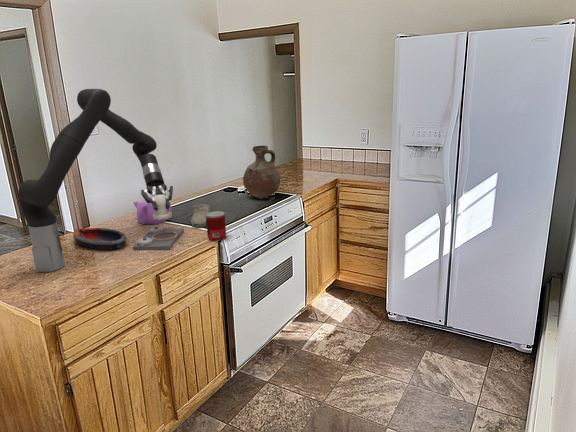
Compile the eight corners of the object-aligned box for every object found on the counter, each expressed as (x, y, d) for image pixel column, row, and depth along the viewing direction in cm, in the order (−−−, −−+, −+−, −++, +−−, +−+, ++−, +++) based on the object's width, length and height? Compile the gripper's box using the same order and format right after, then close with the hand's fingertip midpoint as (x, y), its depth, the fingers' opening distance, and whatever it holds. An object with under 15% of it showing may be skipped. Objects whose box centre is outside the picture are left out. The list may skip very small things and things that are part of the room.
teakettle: (140, 227, 208) (137, 202, 204) (134, 218, 222) (131, 195, 219) (176, 222, 215) (173, 197, 211) (168, 213, 230) (165, 191, 226)
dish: (105, 256, 173) (103, 244, 172) (64, 242, 191) (62, 231, 189) (137, 244, 186) (136, 233, 184) (96, 232, 203) (94, 222, 201)
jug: (237, 197, 259) (233, 146, 250) (265, 191, 272) (263, 143, 263) (259, 204, 243) (256, 150, 234) (288, 197, 256) (286, 145, 248)
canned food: (229, 237, 190) (228, 213, 187) (215, 242, 185) (213, 217, 182) (218, 233, 195) (217, 210, 192) (204, 238, 190) (202, 214, 187)
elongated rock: (187, 232, 204) (209, 232, 205) (187, 221, 202) (209, 221, 203) (193, 208, 236) (212, 208, 238) (193, 199, 235) (212, 199, 236)
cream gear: (168, 219, 182) (166, 197, 179) (150, 220, 182) (147, 198, 180) (174, 214, 189) (171, 193, 187) (156, 214, 190) (153, 193, 187)
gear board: (169, 249, 178) (168, 241, 177) (133, 250, 178) (132, 242, 177) (184, 231, 200) (183, 224, 199) (151, 232, 200) (150, 224, 199)
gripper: (136, 173, 184) (145, 207, 177) (170, 169, 190) (180, 201, 183) (135, 183, 190) (144, 216, 183) (168, 179, 196) (178, 211, 189)
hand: (162, 208), depth 183 cm, fingers closed on cream gear, 4 cm apart
